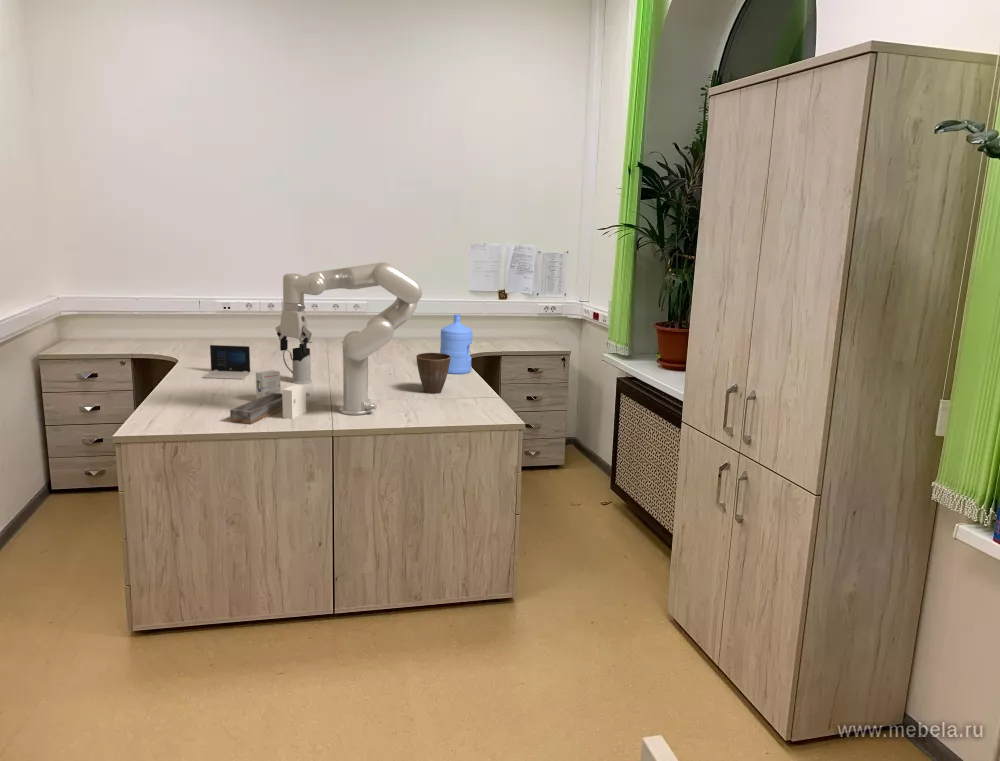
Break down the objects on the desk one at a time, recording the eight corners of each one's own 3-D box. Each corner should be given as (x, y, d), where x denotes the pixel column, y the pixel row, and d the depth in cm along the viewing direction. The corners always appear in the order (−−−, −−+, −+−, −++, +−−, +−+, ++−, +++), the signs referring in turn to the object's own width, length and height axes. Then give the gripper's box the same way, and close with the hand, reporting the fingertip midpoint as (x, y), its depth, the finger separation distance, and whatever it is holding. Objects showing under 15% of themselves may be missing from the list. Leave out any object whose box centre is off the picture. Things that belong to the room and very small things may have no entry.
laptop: (201, 378, 341) (200, 350, 338) (211, 372, 353) (210, 344, 350) (242, 380, 342) (241, 351, 339) (250, 373, 354) (249, 346, 351)
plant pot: (444, 397, 326) (445, 360, 323) (411, 394, 329) (411, 357, 326) (453, 389, 341) (454, 354, 337) (421, 386, 343) (422, 351, 340)
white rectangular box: (306, 412, 295) (305, 385, 292) (292, 419, 285) (291, 390, 283) (296, 411, 296) (296, 383, 293) (282, 417, 287) (282, 389, 284)
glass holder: (304, 385, 337) (303, 351, 333) (277, 381, 342) (276, 348, 338) (315, 381, 344) (315, 348, 341) (289, 377, 350) (289, 345, 346)
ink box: (263, 402, 305) (262, 374, 303) (255, 400, 309) (255, 372, 306) (281, 399, 312) (280, 371, 309) (274, 396, 315) (273, 369, 312)
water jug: (448, 375, 367) (449, 317, 361) (434, 368, 380) (435, 313, 374) (476, 373, 375) (478, 316, 368) (462, 366, 388) (464, 311, 381)
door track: (292, 405, 303) (291, 394, 302) (250, 424, 277) (250, 412, 276) (273, 403, 305) (273, 392, 304) (230, 421, 279) (230, 409, 278)
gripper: (317, 309, 284) (317, 354, 288) (283, 303, 292) (283, 347, 296) (303, 310, 277) (303, 356, 281) (269, 305, 285) (269, 350, 289)
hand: (293, 352), depth 288 cm, fingers open, 9 cm apart
